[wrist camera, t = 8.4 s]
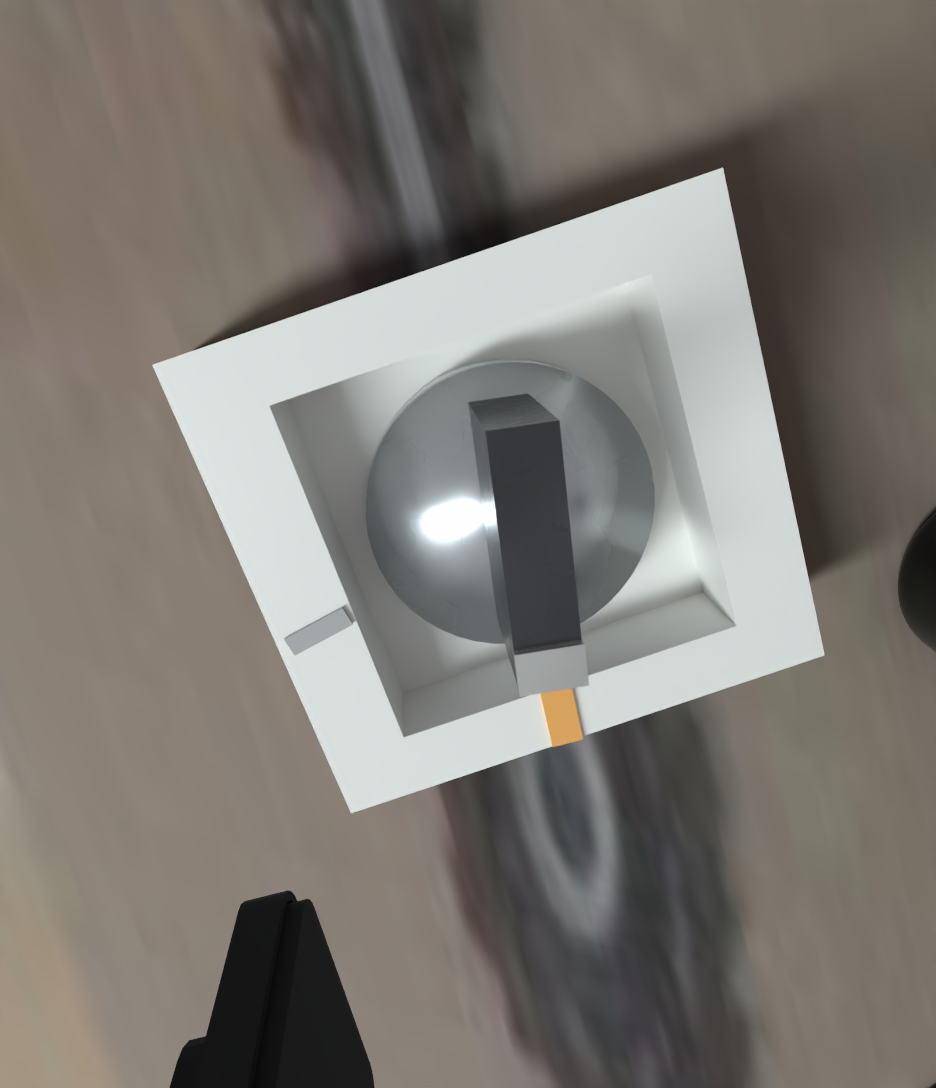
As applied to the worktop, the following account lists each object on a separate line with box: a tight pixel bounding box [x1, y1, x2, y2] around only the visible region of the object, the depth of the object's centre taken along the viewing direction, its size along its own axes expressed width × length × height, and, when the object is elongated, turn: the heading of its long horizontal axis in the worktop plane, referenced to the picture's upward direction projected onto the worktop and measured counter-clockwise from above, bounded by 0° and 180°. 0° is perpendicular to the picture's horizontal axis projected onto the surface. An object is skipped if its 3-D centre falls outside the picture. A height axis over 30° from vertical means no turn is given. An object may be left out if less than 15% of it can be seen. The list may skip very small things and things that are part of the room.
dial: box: [365, 358, 655, 697], centre depth 24 cm, size 9×9×7 cm
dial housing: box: [153, 168, 824, 813], centre depth 27 cm, size 15×16×5 cm
